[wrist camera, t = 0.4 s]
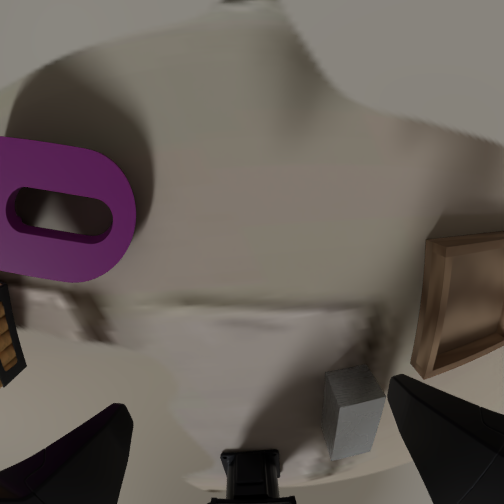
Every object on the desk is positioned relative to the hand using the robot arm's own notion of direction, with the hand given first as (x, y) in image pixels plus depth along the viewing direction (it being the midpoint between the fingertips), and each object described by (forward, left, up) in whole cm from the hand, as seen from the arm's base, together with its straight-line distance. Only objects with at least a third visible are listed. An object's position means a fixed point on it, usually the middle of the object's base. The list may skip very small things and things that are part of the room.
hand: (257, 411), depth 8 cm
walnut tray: (-5, -22, -14) cm, 26 cm away
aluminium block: (-14, -8, -14) cm, 21 cm away
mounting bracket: (+8, +16, -14) cm, 23 cm away
